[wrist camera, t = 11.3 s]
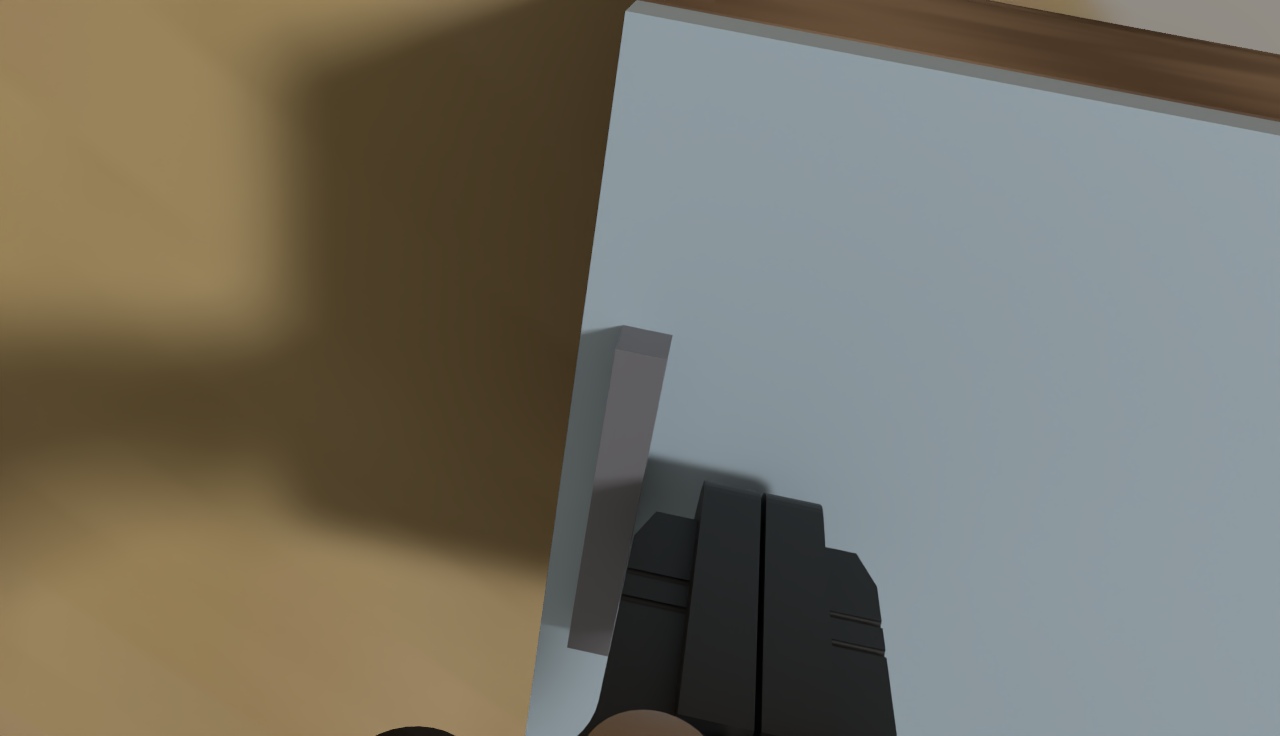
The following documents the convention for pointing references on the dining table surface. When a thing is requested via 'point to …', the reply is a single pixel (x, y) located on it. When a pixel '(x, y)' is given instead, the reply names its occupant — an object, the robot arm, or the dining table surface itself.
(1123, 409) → the lid
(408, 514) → the dining table surface
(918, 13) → the box
